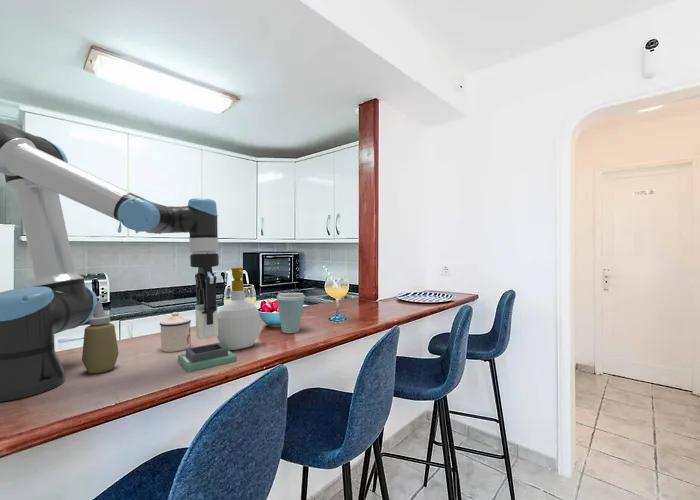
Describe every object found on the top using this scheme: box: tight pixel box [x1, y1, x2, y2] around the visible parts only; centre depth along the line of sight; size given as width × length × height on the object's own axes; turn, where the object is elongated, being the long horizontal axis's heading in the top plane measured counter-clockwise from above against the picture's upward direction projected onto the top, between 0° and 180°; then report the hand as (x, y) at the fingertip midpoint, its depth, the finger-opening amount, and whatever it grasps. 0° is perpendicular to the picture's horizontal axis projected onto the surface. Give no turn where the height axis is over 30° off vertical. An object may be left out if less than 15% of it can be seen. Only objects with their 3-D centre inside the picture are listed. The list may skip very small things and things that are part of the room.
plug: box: [194, 303, 218, 340], centre depth 99 cm, size 5×4×9 cm
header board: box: [177, 342, 237, 373], centre depth 99 cm, size 13×12×4 cm
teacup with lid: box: [159, 311, 192, 353], centre depth 113 cm, size 12×9×12 cm
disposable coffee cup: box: [276, 292, 306, 334], centre depth 131 cm, size 11×11×15 cm
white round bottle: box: [216, 266, 261, 351], centre depth 110 cm, size 14×9×26 cm, turn 125°
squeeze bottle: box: [81, 303, 120, 374], centre depth 93 cm, size 8×8×18 cm
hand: (207, 333), depth 99 cm, fingers closed on plug, 4 cm apart
